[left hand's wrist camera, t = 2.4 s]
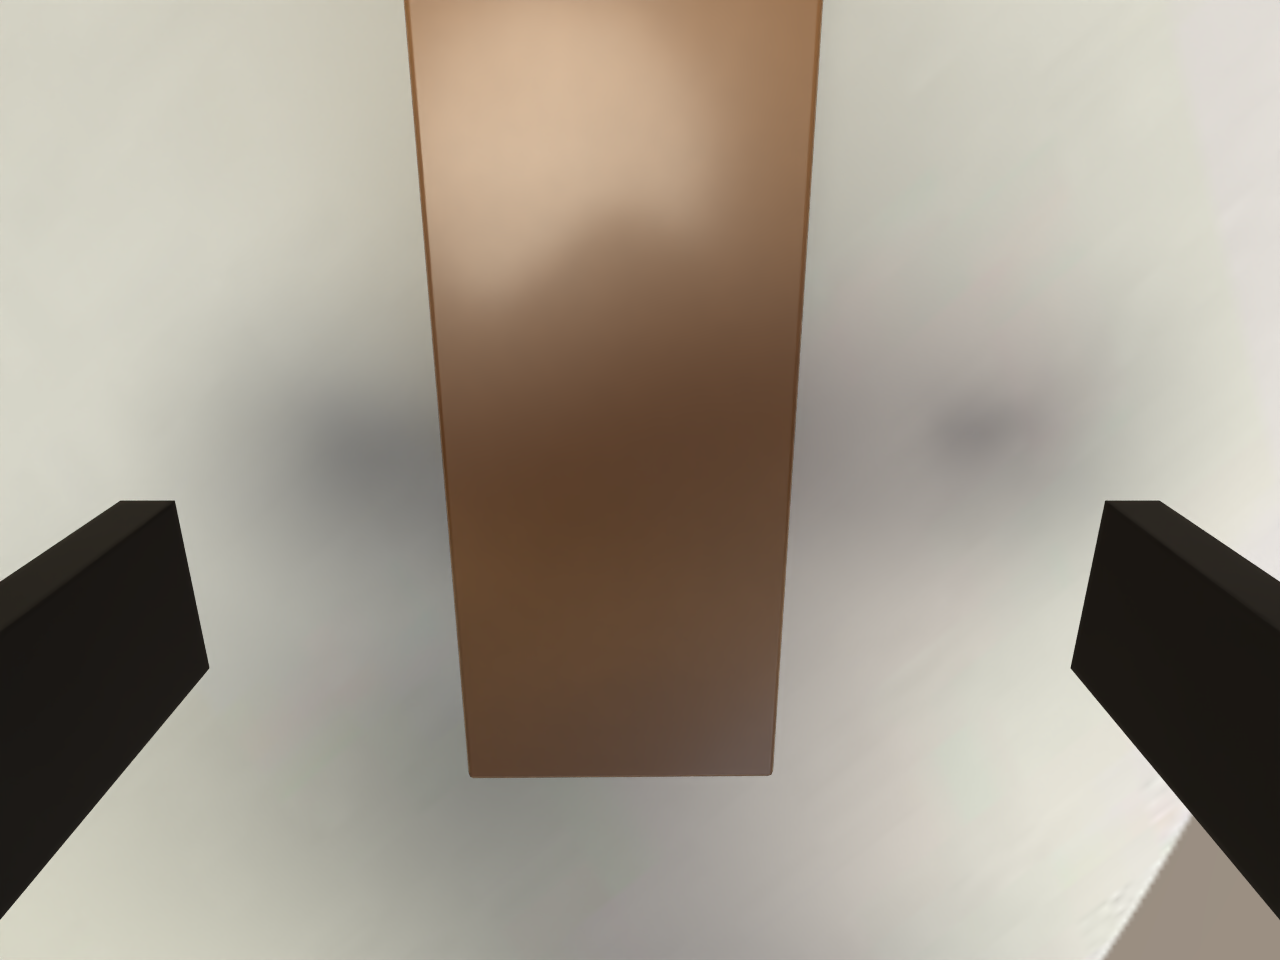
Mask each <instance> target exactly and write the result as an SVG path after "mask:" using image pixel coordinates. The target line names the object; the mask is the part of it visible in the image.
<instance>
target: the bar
mask: <svg viewBox="0 0 1280 960" xmlns="http://www.w3.org/2000/svg"><path fill="white" fill-rule="evenodd" d="M404 9H405V21H406V33H407V45H408V56H409V68H410V80H411V92H412V104H413V116H414V128H415V140H416V152H417V164H418V175H419V187H420V199H421V211H422V223H423V235H424V247H425V259H426V271H427V283H428V294H429V306H430V318H431V330H432V342H433V354H434V366H435V378H436V390H437V402H438V413H439V425H440V437H441V449H442V461H443V473H444V485H445V497H446V509H447V521H448V532H449V544H450V556H451V568H452V580H453V592H454V604H455V616H456V628H457V640H458V651H459V663H460V675H461V687H462V699H463V711H464V723H465V735H466V747H467V759H468V770H469V775H470V777H472V778H544V777H674V776H769V775H771V774H772V771H773V762H774V747H775V732H776V716H777V701H778V686H779V670H780V655H781V639H782V624H783V609H784V593H785V578H786V563H787V547H788V532H789V517H790V501H791V486H792V470H793V455H794V440H795V424H796V409H797V394H798V378H799V363H800V348H801V332H802V317H803V301H804V286H805V271H806V255H807V240H808V225H809V209H810V194H811V178H812V163H813V148H814V132H815V117H816V102H817V86H818V71H819V56H820V40H821V25H822V9H823V0H404Z"/></svg>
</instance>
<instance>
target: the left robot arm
mask: <svg viewBox="0 0 1280 960" xmlns="http://www.w3.org/2000/svg"><path fill="white" fill-rule="evenodd" d="M208 669H209V664H208V659H207V654H206V649H205V644H204V639H203V635H202V630H201V625H200V620H199V615H198V611H197V606H196V601H195V596H194V591H193V586H192V582H191V577H190V572H189V567H188V562H187V557H186V553H185V548H184V543H183V538H182V533H181V528H180V524H179V519H178V514H177V509H176V504H175V501H119V502H118V503H116V504H115V505H113V506H112V507H110V508H109V509H107V510H106V511H104V512H103V513H101V514H100V515H98V516H97V517H96V518H94V519H93V520H91V521H90V522H88V523H87V524H85V525H84V526H82V527H81V528H79V529H78V530H76V531H75V532H73V533H72V534H70V535H69V536H67V537H66V538H64V539H63V540H61V541H60V542H58V543H57V544H55V545H54V546H52V547H51V548H50V549H48V550H47V551H45V552H44V553H42V554H41V555H39V556H38V557H36V558H35V559H33V560H32V561H30V562H29V563H27V564H26V565H24V566H23V567H21V568H20V569H18V570H17V571H15V572H14V573H12V574H11V575H9V576H8V577H6V578H5V579H4V580H2V581H1V582H0V919H1V918H2V917H3V916H4V915H5V913H6V912H7V911H8V910H9V909H10V907H11V906H12V905H13V904H14V903H15V901H16V900H17V899H18V898H19V897H20V895H21V894H22V893H23V892H24V891H25V889H26V888H27V887H28V886H29V884H30V883H31V882H32V881H33V880H34V878H35V877H36V876H37V875H38V874H39V872H40V871H41V870H42V869H43V868H44V866H45V865H46V864H47V863H48V862H49V860H50V859H51V858H52V857H53V856H54V854H55V853H56V852H57V851H58V850H59V848H60V847H61V846H62V845H63V844H64V842H65V841H66V840H67V839H68V838H69V836H70V835H71V834H72V833H73V832H74V830H75V829H76V828H77V827H78V826H79V824H80V823H81V822H82V821H83V820H84V818H85V817H86V816H87V815H88V814H89V812H90V811H91V810H92V809H93V808H94V806H95V805H96V804H97V803H98V802H99V800H100V799H101V798H102V797H103V796H104V794H105V793H106V792H107V791H108V790H109V788H110V787H111V786H112V785H113V784H114V782H115V781H116V780H117V779H118V777H119V776H120V775H121V774H122V773H123V771H124V770H125V769H126V768H127V767H128V765H129V764H130V763H131V762H132V761H133V759H134V758H135V757H136V756H137V755H138V753H139V752H140V751H141V750H142V749H143V747H144V746H145V745H146V744H147V743H148V741H149V740H150V739H151V738H152V737H153V735H154V734H155V733H156V732H157V731H158V729H159V728H160V727H161V726H162V725H163V723H164V722H165V721H166V720H167V719H168V717H169V716H170V715H171V714H172V713H173V711H174V710H175V709H176V708H177V707H178V705H179V704H180V703H181V702H182V701H183V699H184V698H185V697H186V696H187V695H188V693H189V692H190V691H191V690H192V689H193V687H194V686H195V685H196V684H197V683H198V681H199V680H200V679H201V678H202V677H203V675H204V674H205V673H206V672H207V670H208ZM1071 669H1072V670H1073V672H1074V673H1075V674H1076V675H1077V677H1078V678H1079V679H1080V680H1081V681H1082V683H1083V684H1084V685H1085V686H1086V687H1087V689H1088V690H1089V691H1090V692H1091V693H1092V695H1093V696H1094V697H1095V698H1096V699H1097V701H1098V702H1099V703H1100V704H1101V705H1102V707H1103V708H1104V709H1105V710H1106V711H1107V713H1108V714H1109V715H1110V716H1111V717H1112V719H1113V720H1114V721H1115V722H1116V723H1117V725H1118V726H1119V727H1120V728H1121V729H1122V731H1123V732H1124V733H1125V734H1126V735H1127V737H1128V738H1129V739H1130V740H1131V741H1132V743H1133V744H1134V745H1135V746H1136V747H1137V749H1138V750H1139V751H1140V752H1141V753H1142V755H1143V756H1144V757H1145V758H1146V759H1147V761H1148V762H1149V763H1150V764H1151V765H1152V767H1153V768H1154V769H1155V770H1156V771H1157V773H1158V774H1159V775H1160V776H1161V777H1162V779H1163V780H1164V781H1165V782H1166V784H1167V785H1168V786H1169V787H1170V788H1171V790H1172V791H1173V792H1174V793H1175V794H1176V796H1177V797H1178V798H1179V799H1180V800H1181V802H1182V803H1183V804H1184V805H1185V806H1186V808H1187V809H1188V810H1189V811H1190V812H1191V814H1192V815H1193V816H1194V817H1195V818H1196V820H1197V821H1198V822H1199V823H1200V824H1201V826H1202V827H1203V828H1204V829H1205V830H1206V832H1207V833H1208V834H1209V835H1210V836H1211V838H1212V839H1213V840H1214V841H1215V842H1216V844H1217V845H1218V846H1219V847H1220V848H1221V850H1222V851H1223V852H1224V853H1225V854H1226V856H1227V857H1228V858H1229V859H1230V860H1231V862H1232V863H1233V864H1234V865H1235V866H1236V868H1237V869H1238V870H1239V871H1240V872H1241V874H1242V875H1243V876H1244V877H1245V878H1246V880H1247V881H1248V882H1249V883H1250V884H1251V886H1252V887H1253V888H1254V889H1255V891H1256V892H1257V893H1258V894H1259V895H1260V897H1261V898H1262V899H1263V900H1264V901H1265V903H1266V904H1267V905H1268V906H1269V907H1270V909H1271V910H1272V911H1273V912H1274V913H1275V915H1276V916H1277V917H1278V918H1279V919H1280V582H1279V581H1278V580H1276V579H1275V578H1274V577H1272V576H1271V575H1269V574H1268V573H1266V572H1265V571H1263V570H1262V569H1260V568H1259V567H1257V566H1256V565H1254V564H1253V563H1251V562H1250V561H1248V560H1247V559H1245V558H1244V557H1242V556H1241V555H1239V554H1238V553H1236V552H1235V551H1233V550H1232V549H1230V548H1229V547H1228V546H1226V545H1225V544H1223V543H1222V542H1220V541H1219V540H1217V539H1216V538H1214V537H1213V536H1211V535H1210V534H1208V533H1207V532H1205V531H1204V530H1202V529H1201V528H1199V527H1198V526H1196V525H1195V524H1193V523H1192V522H1190V521H1189V520H1187V519H1186V518H1184V517H1183V516H1182V515H1180V514H1179V513H1177V512H1176V511H1174V510H1173V509H1171V508H1170V507H1168V506H1167V505H1165V504H1164V503H1162V502H1161V501H1105V504H1104V509H1103V514H1102V519H1101V524H1100V528H1099V533H1098V538H1097V543H1096V548H1095V553H1094V557H1093V562H1092V567H1091V572H1090V577H1089V582H1088V586H1087V591H1086V596H1085V601H1084V606H1083V611H1082V615H1081V620H1080V625H1079V630H1078V635H1077V639H1076V644H1075V649H1074V654H1073V659H1072V664H1071Z"/></svg>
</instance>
